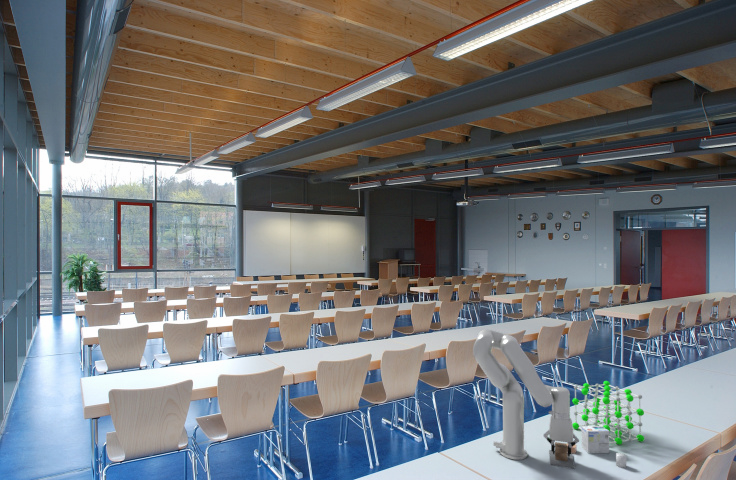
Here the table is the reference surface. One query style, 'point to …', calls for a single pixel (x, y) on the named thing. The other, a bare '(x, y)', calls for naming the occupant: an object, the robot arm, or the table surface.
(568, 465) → the mat
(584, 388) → the molecular structure model
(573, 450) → the peach cube
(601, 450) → the light bulb box
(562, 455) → the walnut block
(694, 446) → the table surface
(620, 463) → the grey plastic cylinder
